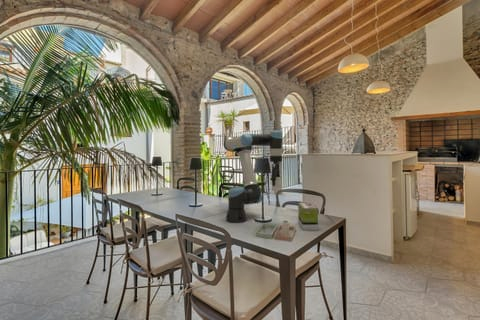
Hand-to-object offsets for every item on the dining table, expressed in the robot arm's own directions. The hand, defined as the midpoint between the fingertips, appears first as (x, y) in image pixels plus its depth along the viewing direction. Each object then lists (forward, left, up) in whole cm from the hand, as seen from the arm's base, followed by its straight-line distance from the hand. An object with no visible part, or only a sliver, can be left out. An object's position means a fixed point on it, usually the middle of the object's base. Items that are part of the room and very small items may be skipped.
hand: (275, 188), depth 155 cm
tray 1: (-4, -6, -27) cm, 28 cm away
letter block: (+8, -6, -27) cm, 28 cm away
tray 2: (+8, -6, -27) cm, 28 cm away
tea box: (+19, +14, -27) cm, 36 cm away
